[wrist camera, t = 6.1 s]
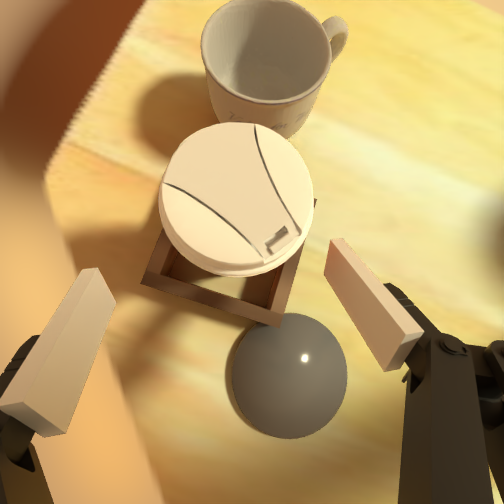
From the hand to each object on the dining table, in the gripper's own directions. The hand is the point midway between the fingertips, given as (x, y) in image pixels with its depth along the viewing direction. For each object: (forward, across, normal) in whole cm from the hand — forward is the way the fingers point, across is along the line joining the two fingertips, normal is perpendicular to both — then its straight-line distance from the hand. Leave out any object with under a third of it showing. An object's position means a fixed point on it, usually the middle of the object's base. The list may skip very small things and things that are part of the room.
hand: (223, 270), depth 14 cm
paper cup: (+9, +1, -5) cm, 11 cm away
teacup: (+20, +7, +6) cm, 22 cm away
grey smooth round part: (0, +5, -14) cm, 15 cm away
